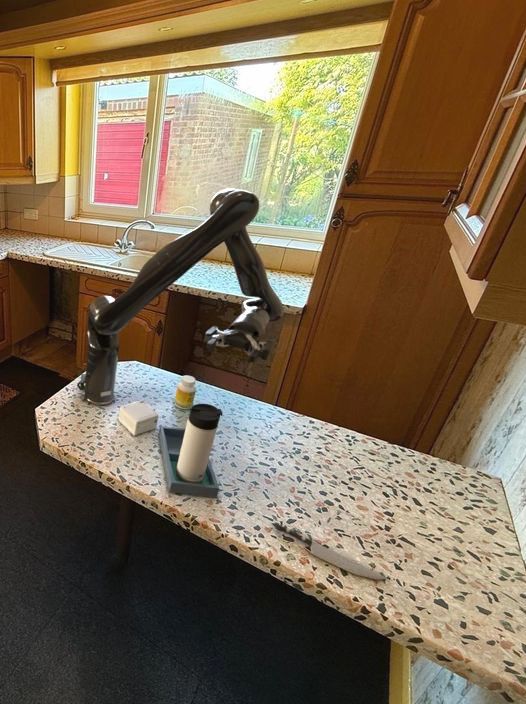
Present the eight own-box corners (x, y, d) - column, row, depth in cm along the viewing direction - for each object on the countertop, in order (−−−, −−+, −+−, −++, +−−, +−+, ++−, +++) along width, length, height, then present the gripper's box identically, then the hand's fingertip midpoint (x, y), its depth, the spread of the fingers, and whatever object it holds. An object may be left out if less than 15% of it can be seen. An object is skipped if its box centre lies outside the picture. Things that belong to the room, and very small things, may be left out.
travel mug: (206, 487, 94) (225, 420, 85) (177, 483, 95) (193, 416, 86) (202, 468, 99) (219, 403, 90) (174, 464, 100) (189, 399, 91)
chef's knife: (386, 593, 73) (387, 579, 75) (389, 589, 73) (389, 576, 75) (271, 535, 83) (273, 524, 85) (272, 531, 83) (275, 521, 85)
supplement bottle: (179, 397, 127) (184, 372, 123) (195, 404, 124) (201, 378, 119) (170, 404, 124) (176, 378, 119) (187, 412, 120) (193, 385, 116)
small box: (134, 436, 111) (136, 421, 108) (117, 420, 117) (119, 405, 115) (156, 429, 113) (159, 414, 111) (139, 413, 120) (141, 399, 117)
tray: (169, 492, 93) (171, 482, 92) (158, 434, 111) (159, 425, 110) (216, 497, 92) (219, 488, 91) (197, 438, 110) (199, 429, 109)
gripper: (221, 309, 105) (201, 330, 94) (282, 324, 97) (268, 348, 86) (215, 334, 108) (194, 358, 97) (273, 350, 100) (258, 378, 89)
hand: (229, 353), depth 92 cm, fingers open, 8 cm apart
